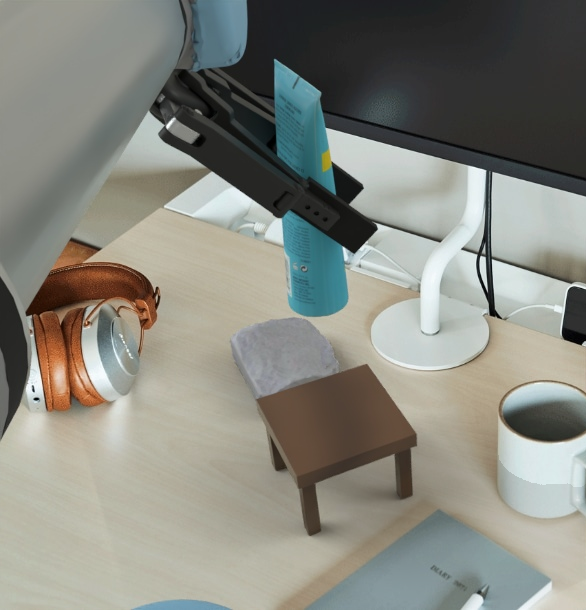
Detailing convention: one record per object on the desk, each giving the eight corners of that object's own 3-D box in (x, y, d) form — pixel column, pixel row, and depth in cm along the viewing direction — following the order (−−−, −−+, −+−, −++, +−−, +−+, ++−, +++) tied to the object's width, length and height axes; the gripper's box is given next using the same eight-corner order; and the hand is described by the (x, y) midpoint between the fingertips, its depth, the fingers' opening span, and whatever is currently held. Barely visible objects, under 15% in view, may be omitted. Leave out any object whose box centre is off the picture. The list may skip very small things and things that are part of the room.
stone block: (308, 344, 106) (222, 356, 101) (313, 309, 104) (225, 320, 99) (349, 407, 98) (259, 424, 93) (356, 371, 96) (263, 387, 91)
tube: (368, 311, 74) (352, 83, 63) (316, 333, 72) (290, 100, 61) (319, 271, 79) (297, 53, 68) (269, 291, 76) (237, 67, 65)
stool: (306, 541, 81) (296, 476, 76) (266, 461, 89) (255, 399, 84) (419, 496, 85) (416, 433, 81) (371, 424, 93) (367, 363, 88)
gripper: (67, 22, 67) (313, 195, 80) (36, 128, 52) (344, 319, 65) (129, -58, 65) (370, 133, 78) (114, 29, 50) (415, 246, 64)
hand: (358, 217), depth 72 cm, fingers closed on tube, 6 cm apart
